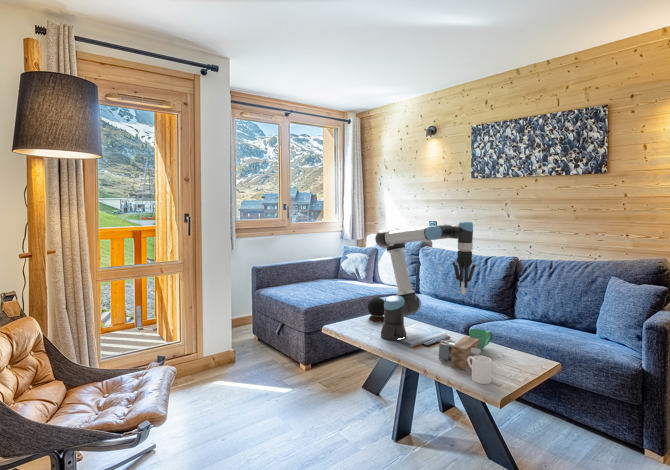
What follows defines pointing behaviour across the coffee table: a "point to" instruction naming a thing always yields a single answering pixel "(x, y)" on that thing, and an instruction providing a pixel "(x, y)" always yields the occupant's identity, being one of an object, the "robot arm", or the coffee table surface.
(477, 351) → the axle
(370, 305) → the black ball on base
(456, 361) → the beam
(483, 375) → the mug
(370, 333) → the coffee table surface
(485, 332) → the mug
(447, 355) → the cradle
